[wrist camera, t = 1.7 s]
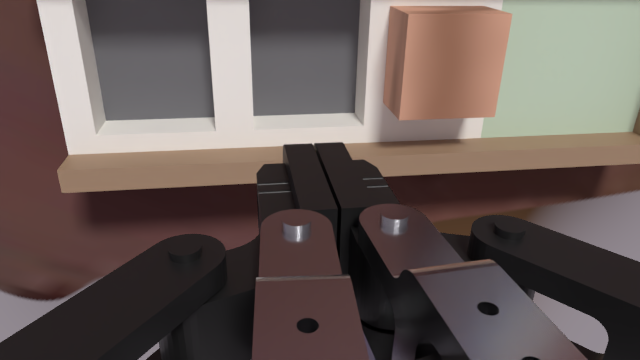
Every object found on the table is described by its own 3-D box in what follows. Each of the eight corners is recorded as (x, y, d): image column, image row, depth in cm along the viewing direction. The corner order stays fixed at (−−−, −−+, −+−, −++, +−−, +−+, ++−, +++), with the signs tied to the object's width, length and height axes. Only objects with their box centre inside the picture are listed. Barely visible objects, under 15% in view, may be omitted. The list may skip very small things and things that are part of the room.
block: (484, 5, 26) (512, 14, 24) (470, 100, 29) (494, 116, 26) (390, 5, 26) (408, 14, 23) (383, 102, 28) (399, 120, 25)
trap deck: (674, -65, 29) (755, -65, 24) (617, 135, 34) (675, 165, 30) (39, -80, 24) (-5, -83, 20) (85, 157, 29) (58, 197, 25)
